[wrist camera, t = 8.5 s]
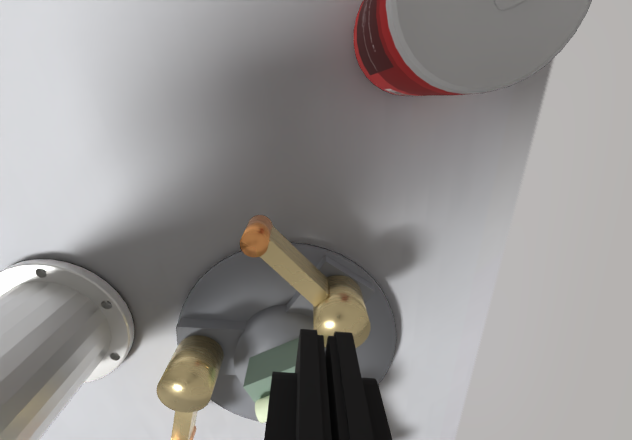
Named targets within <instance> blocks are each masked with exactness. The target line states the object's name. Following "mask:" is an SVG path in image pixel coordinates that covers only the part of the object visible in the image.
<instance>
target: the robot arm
mask: <svg viewBox="0 0 632 440" xmlns="http://www.w3.org/2000/svg"><path fill="white" fill-rule="evenodd" d="M133 340H134V324H133V320H132V316H131V313H130V311H129V309H128V307H127V305H126V303H125V302H124V300H123V299H122V298H121V296H120V295H119V294H118V292H117V291H116V290H115V289H113V288H112V287H111V286H110V285H109V284H108V283H107V282H106V281H104V280H103V279H101V278H100V277H99V276H97V275H96V274H94V273H92V272H90V271H88V270H86V269H84V268H82V267H80V266H77V265H74V264H71V263H68V262H63V261H57V260H52V259H34V260H28V261H22V262H19V263H16V264H14V265H11V266H9V267H7V268H5V269H4V270H2V271H0V440H40V438H41V437H42V436H43V435H44V433H45V432H46V431H47V430H48V428H49V427H50V426H51V424H52V423H53V422H54V421H55V419H56V418H57V417H58V415H59V414H60V413H61V412H62V410H63V409H64V408H65V407H66V405H67V404H68V403H69V401H70V400H71V399H72V398H73V396H74V395H75V394H76V392H77V391H78V390H79V389H80V387H81V386H82V385H83V384H84V383H87V382H92V381H95V380H98V379H101V378H103V377H105V376H107V375H108V374H110V373H112V372H113V371H114V370H115V369H116V368H118V367H119V366H120V364H121V363H122V362H123V360H124V359H125V358H126V356H127V355H128V353H129V351H130V349H131V347H132V344H133ZM264 440H392V437H391V433H390V429H389V425H388V422H387V418H386V414H385V410H384V406H383V402H382V398H381V394H380V390H379V386H378V383H377V381H376V379H375V378H362V377H361V373H360V368H359V363H358V358H357V353H356V348H355V343H354V338H353V334H352V333H350V332H336V331H335V332H334V336H328V338H327V344H326V350H325V347H324V336H323V335H318V333H317V330H310V329H300V334H299V342H298V350H297V358H296V366H295V373H288V372H272V380H271V388H270V396H269V405H268V413H267V422H266V430H265V438H264Z"/></svg>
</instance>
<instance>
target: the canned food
mask: <svg viewBox="0 0 632 440" xmlns="http://www.w3.org/2000/svg"><path fill="white" fill-rule="evenodd" d="M591 1H592V0H364V1H363V2H362V4H361V6H360V9H359V12H358V14H357V17H356V21H355V27H354V49H355V55H356V58H357V61H358V63H359V66H360V68H361V69H362V71H363V72H364V74H365V76H366V77H367V78H368V79H369V80H370V81H371V82H372V83H373V84H374V85H375V86H377V87H379V88H380V89H382V90H383V91H386V92H389V93H391V94H395V95H402V96H427V95H465V94H479V93H486V92H490V91H494V90H498V89H501V88H505V87H509V86H511V85H513V84H515V83H518V82H520V81H522V80H524V79H526V78H528V77H529V76H531V75H532V74H534V73H535V72H537V71H538V70H540V69H541V68H543V67H544V66H545V65H546V64H548V63H549V62H550V61H551V60H552V59H553V58H554V57H555V56H556V55H557V54H558V53H559V52H560V51H561V50H562V49H563V48H564V46H565V45H566V44H567V43H568V41H569V40H570V39H571V38H572V36H573V35H574V34H575V32H576V31H577V29H578V27H579V25H580V24H581V22H582V20H583V18H584V17H585V15H586V13H587V11H588V9H589V6H590V4H591Z"/></svg>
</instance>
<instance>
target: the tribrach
mask: <svg viewBox="0 0 632 440" xmlns="http://www.w3.org/2000/svg"><path fill="white" fill-rule="evenodd" d="M291 244H292V245H293V246H294V247H295V248H296V249H297V250H298V251H299V252H301V253H302V254H303V255H304V256H305V257H306V258H307V259H308V260H309V261H310V262H311V263H312V264H313V265H314V266H315V267H316V268H317V269H318V270H319V271H320V272H321V273H322V274H324V275H325V276H326V277H329V276H333V275H343V276H347V277H349V278H351V279H353V280H354V281H355V282H356V283H357V284H358V285H359V287H360V289H361V293H362V296H363V300H364V303H365V307H366V310H367V314H368V317H369V321H370V326H371V328H370V333H369V336H368V338H367V339H366V340H365V342H364V343H363V344H361V345H360V346H359V347H357V348H356V353H357V358H358V363H359V368H360V373H361V377H362V378H375V379H376V381H377V383H378V385H379V383H380V382H381V381H382V379H383V378H384V376H385V375H386V373H387V371H388V369H389V367H390V365H391V362H392V359H393V356H394V352H395V346H396V326H395V321H394V316H393V313H392V311H391V308H390V305H389V303H388V300H387V298H386V297H385V295H384V293H383V291H382V289H381V288H380V287H379V285H378V284H377V283H376V282H375V280H374V279H373V278H372V277H371V276H370V275H369V274H368V273H367V272H366V271H365V270H364V269H362V268H361V267H360V266H358V265H357V264H356V263H354V262H353V261H351V260H349V259H347V258H346V257H344V256H342V255H340V254H338V253H335V252H333V251H330V250H327V249H325V248H321V247H317V246H312V245H307V244H299V243H291ZM300 329H310V330H314V324H313V305H312V304H311V303H310V302H309V301H308V300H307V299H306V298H305V297H304V296H302V295H301V294H300V293H299V292H298V291H297V290H296V289H295V288H294V287H293V286H291V285H290V284H289V283H288V282H287V281H286V280H285V279H284V278H283V277H282V276H280V275H279V274H278V273H277V272H276V271H275V270H274V269H273V268H272V267H271V266H269V265H268V264H267V263H266V262H265V261H264V260H263V259H262V258H261V257H249V256H247V255H245V254H244V253H243V252H242V251H240V252H238V253H235V254H233V255H231V256H229V257H228V258H226V259H224V260H222V261H220V262H219V263H218V264H216V265H215V266H214V267H212V268H211V269H210V270H209V271H208V272H207V273H206V274H205V275H203V276H202V277H201V278H200V280H199V281H198V282H197V284H196V285H195V286H194V288H193V289H192V290H191V292H190V294H189V296H188V297H187V299H186V301H185V303H184V305H183V308H182V310H181V313H180V316H179V321H178V324H177V326H176V332H177V345H179V343H180V342H181V341H182V340H183V339H185V338H187V337H190V336H194V335H201V336H206V337H209V338H211V339H213V340H215V341H216V342H217V343H218V344H219V345H220V346H221V348H222V350H223V354H224V357H223V361H222V364H221V367H220V370H219V374H218V377H217V380H216V383H215V386H214V389H213V392H212V395H211V400H212V401H214V402H215V403H217V404H218V405H220V406H221V407H223V408H224V409H226V410H228V411H230V412H232V413H234V414H237V415H239V416H242V417H245V418H248V419H251V420H255V421H259V422H260V423H264V422H265V423H266V422H267V413H268V405H269V396H270V388H271V380H272V372H288V373H295V366H296V358H297V350H298V342H299V334H300ZM325 350H326V348H325Z"/></svg>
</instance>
